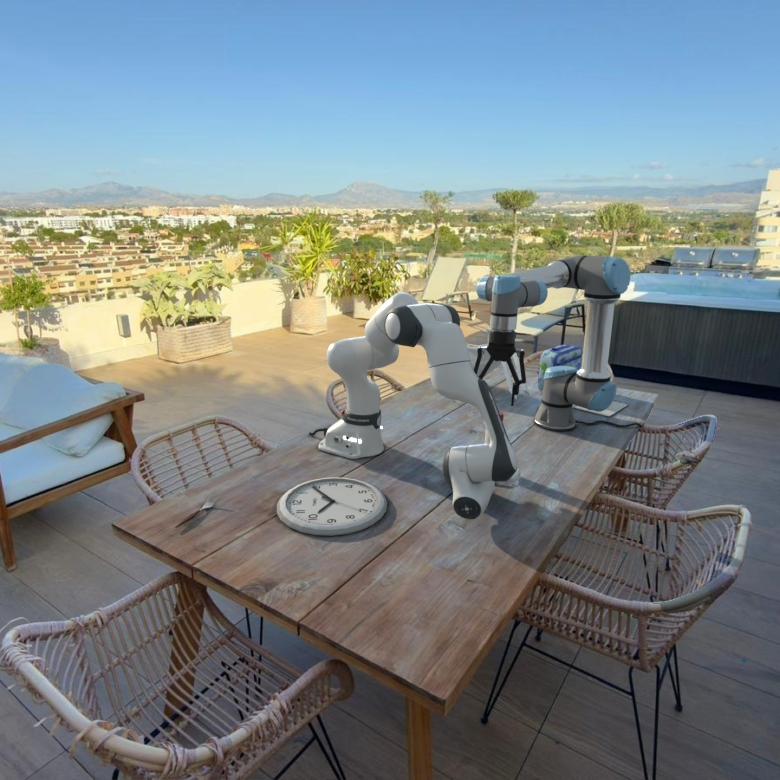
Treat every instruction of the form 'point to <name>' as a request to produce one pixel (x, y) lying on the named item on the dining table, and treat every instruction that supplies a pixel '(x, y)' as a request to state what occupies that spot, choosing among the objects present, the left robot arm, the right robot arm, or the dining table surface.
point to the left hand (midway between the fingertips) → (488, 461)
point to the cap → (501, 415)
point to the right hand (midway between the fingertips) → (496, 403)
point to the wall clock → (331, 506)
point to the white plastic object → (495, 364)
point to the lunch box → (559, 360)
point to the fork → (206, 505)
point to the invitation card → (609, 411)
